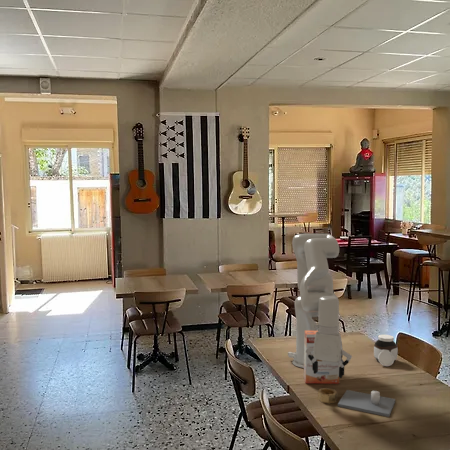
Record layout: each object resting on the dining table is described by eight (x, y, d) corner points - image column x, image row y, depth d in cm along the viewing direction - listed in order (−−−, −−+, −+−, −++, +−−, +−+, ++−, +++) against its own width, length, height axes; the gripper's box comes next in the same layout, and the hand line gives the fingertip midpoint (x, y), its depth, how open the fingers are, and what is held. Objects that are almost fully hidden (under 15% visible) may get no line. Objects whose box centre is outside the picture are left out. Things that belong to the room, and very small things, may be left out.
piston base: (337, 406, 174) (338, 393, 173) (347, 392, 186) (347, 379, 186) (389, 417, 165) (389, 403, 165) (395, 401, 177) (395, 388, 177)
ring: (316, 401, 178) (316, 393, 178) (321, 394, 184) (321, 386, 184) (333, 404, 175) (333, 396, 175) (338, 397, 181) (338, 390, 181)
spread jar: (389, 357, 226) (389, 333, 226) (405, 365, 216) (405, 340, 215) (367, 360, 223) (368, 335, 222) (382, 368, 212) (383, 342, 211)
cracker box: (305, 384, 194) (306, 334, 193) (303, 378, 200) (303, 329, 199) (340, 384, 194) (340, 334, 192) (336, 378, 200) (337, 329, 198)
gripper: (303, 329, 178) (302, 374, 179) (349, 334, 170) (349, 381, 171) (309, 324, 185) (309, 368, 185) (354, 330, 177) (353, 375, 177)
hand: (328, 374), depth 178 cm, fingers open, 9 cm apart
